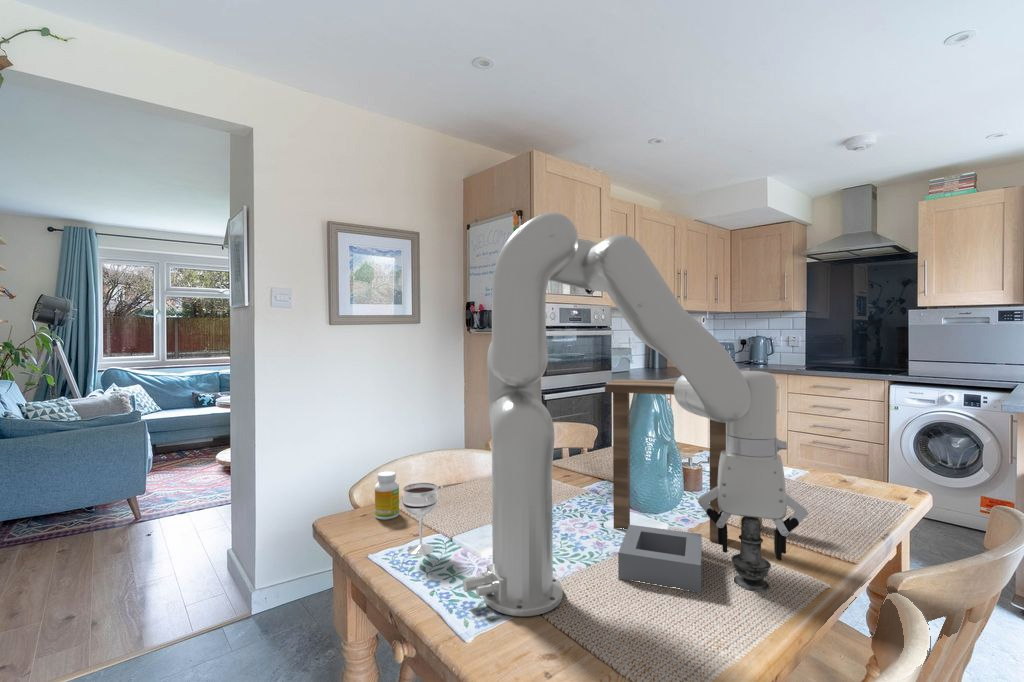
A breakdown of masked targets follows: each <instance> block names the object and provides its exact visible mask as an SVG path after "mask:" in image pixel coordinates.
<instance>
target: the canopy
mask: <svg viewBox="0 0 1024 682" xmlns="http://www.w3.org/2000/svg"><path fill="white" fill-rule="evenodd" d="M676 381H677V380H663V379H662V380H658V379H627V378H626V379H624V378H621V379H620V378H615V379H613V380H611V381H609V382H607V383H605V384H604V393H612V443H613V444H612V450H613V451H612V452H613V453H612V456H613V457H612V459H613V460H612V461H613V462H612V465H613V466H612V468H613V469H612V471H613V474H612V475H613V478H612V479H613V481H612V484H613V487H612V488H613V499H612V500H613V505H612V506H613V529H615V528H622V529H621V530H623V528H624V529H628V527H629V525H631V479H630V478H631V477H630V476H631V473H630V472H631V469H630V467H631V465H630V463H631V459H630V457H631V455H630V454H631V452H630V451H631V448H630V444H631V443H630V441H631V438H630V435H631V433H630V431H631V429H630V417H631V415H630V412H631V411H630V394H644V395H645V394H648V395H673V396H674V386H675V383H676ZM722 450H726V423H721V422H717V421H714V420H711V419H709V491H710V490H712V489H713V488H715V487H717V482H718V467H719V460H720V454H721V451H722ZM709 504H710V505H711V507H712V508H714V509H715V511H716V512H717V513H719V512H720V509H719V506H718V500H717V498H715V499H714V500H712V501H710V502H709ZM710 541H713V542H712V543H717V544H718V527H717V525H716V524H715V523H714V521H713V520H712V519H711V518H710V517H709V542H710Z"/></svg>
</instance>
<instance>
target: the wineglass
mask: <svg viewBox="0 0 1024 682" xmlns="http://www.w3.org/2000/svg"><path fill="white" fill-rule="evenodd" d="M438 488H439V486H438V485H437V484H435V483H432V482H414V483H410V484H408V485H405V486H404V487H402V490H403V492H404V494H403V496H402V505H403V507H404V509H405V510H406V511H407V512H409V513H410V514H411V515H414V516H416V517H417V518H418V532H419V544H416V545H413V546H411V547H409V548H408V549H407V553H408V554H409V555H412V556H415V557H416V556H418V557H419V556H425V555H429V554H432V553H433V552H434V550H435V548H434V546H433V545H430V544H427V543H426V544H424V543H423V527H424V526H423V524H424V523H423V518H424V517H425V516H426V515H427V514H430V513H431V512H432V511H433V510H434V509H435V508H436V507H437V504H438V502H439V501H438V500H439V494H438V492H437V490H438Z"/></svg>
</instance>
